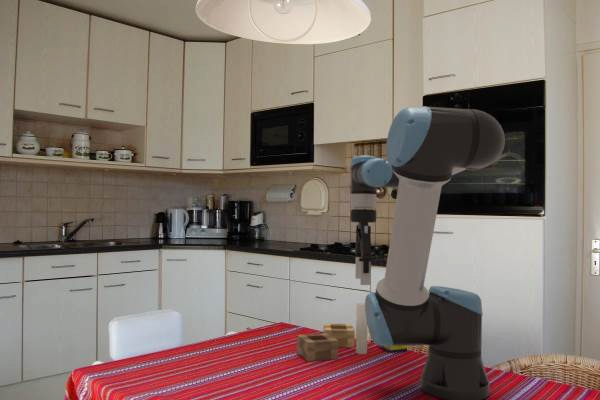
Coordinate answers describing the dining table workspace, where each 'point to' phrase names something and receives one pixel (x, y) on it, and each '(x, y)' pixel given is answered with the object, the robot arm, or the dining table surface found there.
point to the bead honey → (341, 333)
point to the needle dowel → (361, 329)
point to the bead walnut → (317, 347)
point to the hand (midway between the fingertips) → (362, 281)
